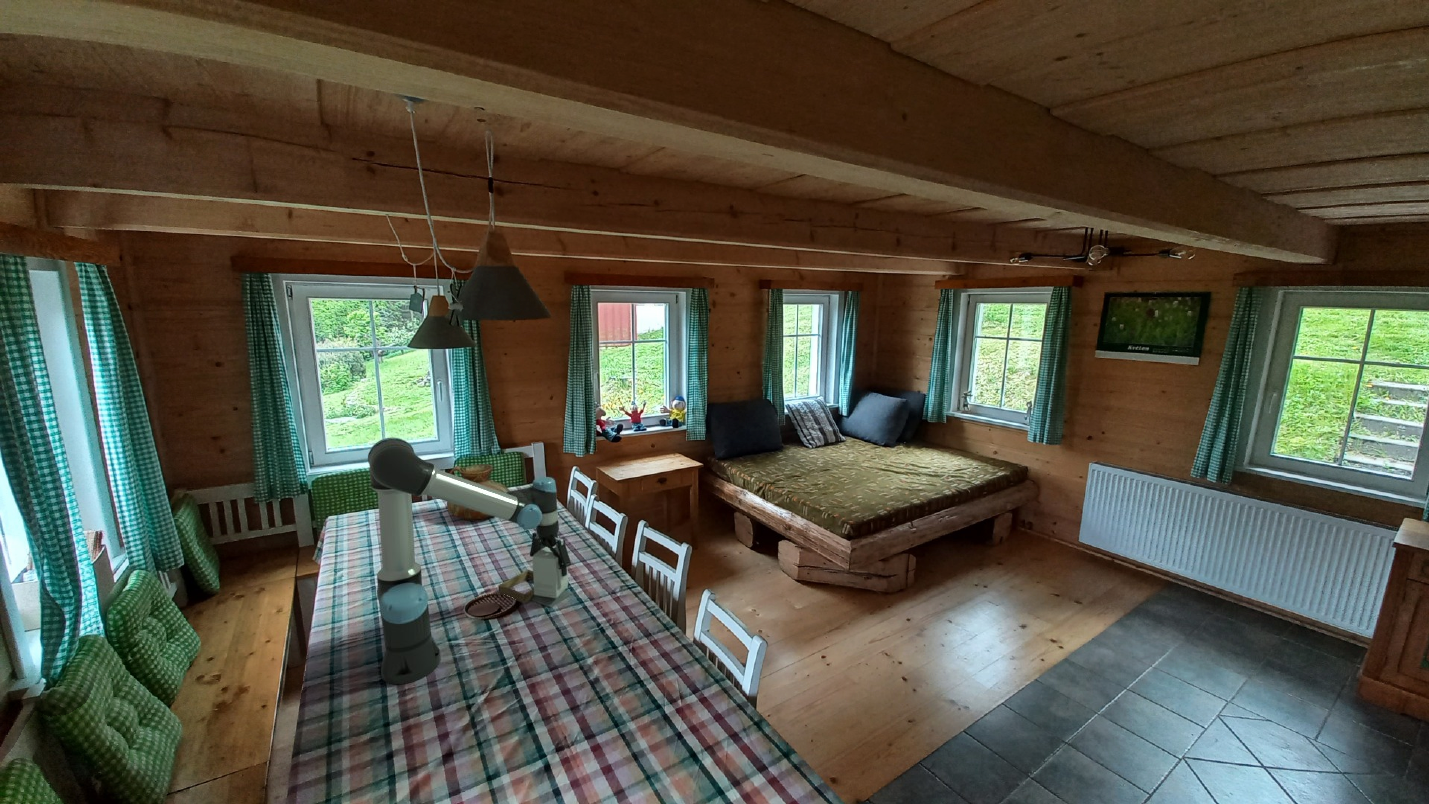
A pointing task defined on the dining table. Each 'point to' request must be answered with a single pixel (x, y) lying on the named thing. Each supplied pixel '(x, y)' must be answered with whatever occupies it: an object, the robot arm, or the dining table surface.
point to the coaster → (551, 599)
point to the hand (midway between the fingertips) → (551, 579)
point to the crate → (506, 586)
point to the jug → (479, 476)
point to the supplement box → (547, 574)
